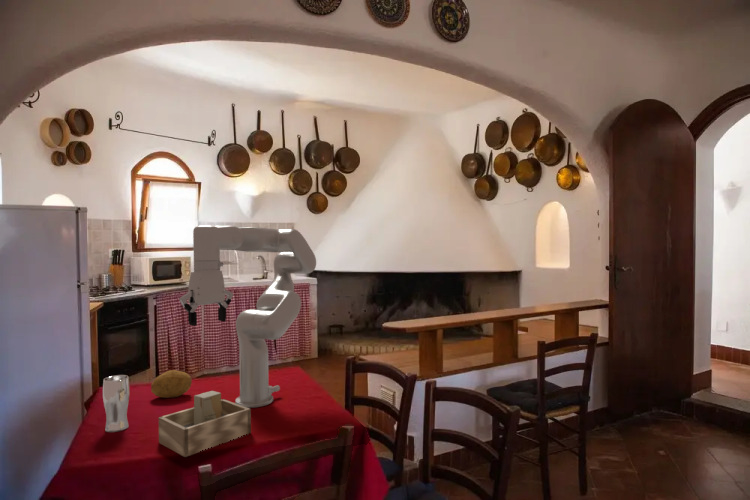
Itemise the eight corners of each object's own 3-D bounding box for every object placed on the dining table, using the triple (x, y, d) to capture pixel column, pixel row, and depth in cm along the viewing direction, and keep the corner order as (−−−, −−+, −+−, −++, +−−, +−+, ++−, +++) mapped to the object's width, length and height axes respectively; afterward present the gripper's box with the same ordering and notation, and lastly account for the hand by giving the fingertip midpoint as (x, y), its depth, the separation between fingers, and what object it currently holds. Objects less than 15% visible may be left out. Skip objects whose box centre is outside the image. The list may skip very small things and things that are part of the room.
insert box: (223, 421, 149) (223, 398, 148) (250, 433, 140) (250, 408, 139) (158, 442, 133) (158, 417, 133) (184, 457, 124) (184, 429, 124)
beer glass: (110, 424, 147) (109, 375, 147) (133, 423, 148) (133, 374, 148) (98, 433, 140) (98, 381, 140) (124, 432, 141) (123, 380, 141)
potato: (153, 368, 176) (150, 372, 167) (193, 367, 180) (191, 371, 171) (152, 395, 175) (148, 401, 167) (191, 393, 179) (190, 399, 170)
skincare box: (202, 443, 133) (202, 398, 133) (193, 439, 136) (192, 395, 135) (222, 435, 138) (221, 392, 138) (212, 431, 141) (212, 389, 141)
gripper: (225, 265, 156) (226, 318, 157) (173, 267, 143) (174, 325, 144) (238, 265, 152) (239, 320, 152) (186, 268, 138) (187, 328, 139)
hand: (207, 323), depth 148 cm, fingers open, 9 cm apart
